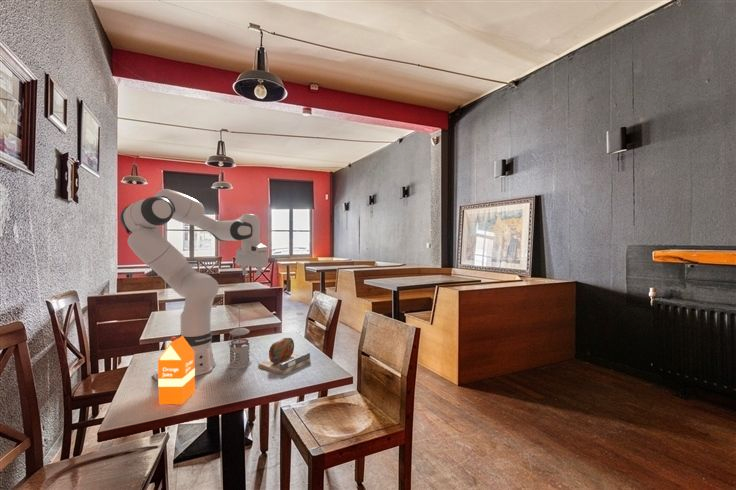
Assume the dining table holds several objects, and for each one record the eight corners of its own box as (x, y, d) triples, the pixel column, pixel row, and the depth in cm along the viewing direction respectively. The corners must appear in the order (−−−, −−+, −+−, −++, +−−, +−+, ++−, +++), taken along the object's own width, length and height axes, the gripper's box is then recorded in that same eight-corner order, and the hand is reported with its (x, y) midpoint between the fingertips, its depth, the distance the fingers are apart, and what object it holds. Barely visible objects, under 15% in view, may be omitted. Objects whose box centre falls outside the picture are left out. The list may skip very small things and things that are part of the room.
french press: (235, 370, 142) (235, 308, 141) (220, 363, 149) (219, 304, 148) (256, 363, 149) (256, 304, 148) (241, 357, 156) (240, 301, 155)
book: (282, 374, 138) (282, 370, 138) (258, 367, 145) (258, 363, 145) (310, 361, 151) (310, 358, 151) (286, 355, 159) (286, 352, 159)
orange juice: (195, 392, 123) (194, 335, 122) (182, 404, 114) (181, 343, 113) (172, 392, 122) (171, 335, 121) (158, 405, 113) (156, 343, 113)
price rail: (282, 370, 138) (282, 364, 138) (280, 370, 138) (280, 364, 138) (310, 358, 151) (310, 352, 151) (307, 357, 152) (307, 352, 152)
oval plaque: (274, 366, 142) (273, 346, 141) (267, 365, 143) (267, 345, 143) (294, 354, 156) (294, 335, 155) (288, 353, 157) (288, 334, 157)
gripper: (231, 246, 175) (232, 274, 176) (259, 248, 164) (260, 277, 165) (242, 246, 181) (242, 273, 181) (270, 247, 170) (270, 276, 170)
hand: (251, 275), depth 173 cm, fingers open, 8 cm apart
